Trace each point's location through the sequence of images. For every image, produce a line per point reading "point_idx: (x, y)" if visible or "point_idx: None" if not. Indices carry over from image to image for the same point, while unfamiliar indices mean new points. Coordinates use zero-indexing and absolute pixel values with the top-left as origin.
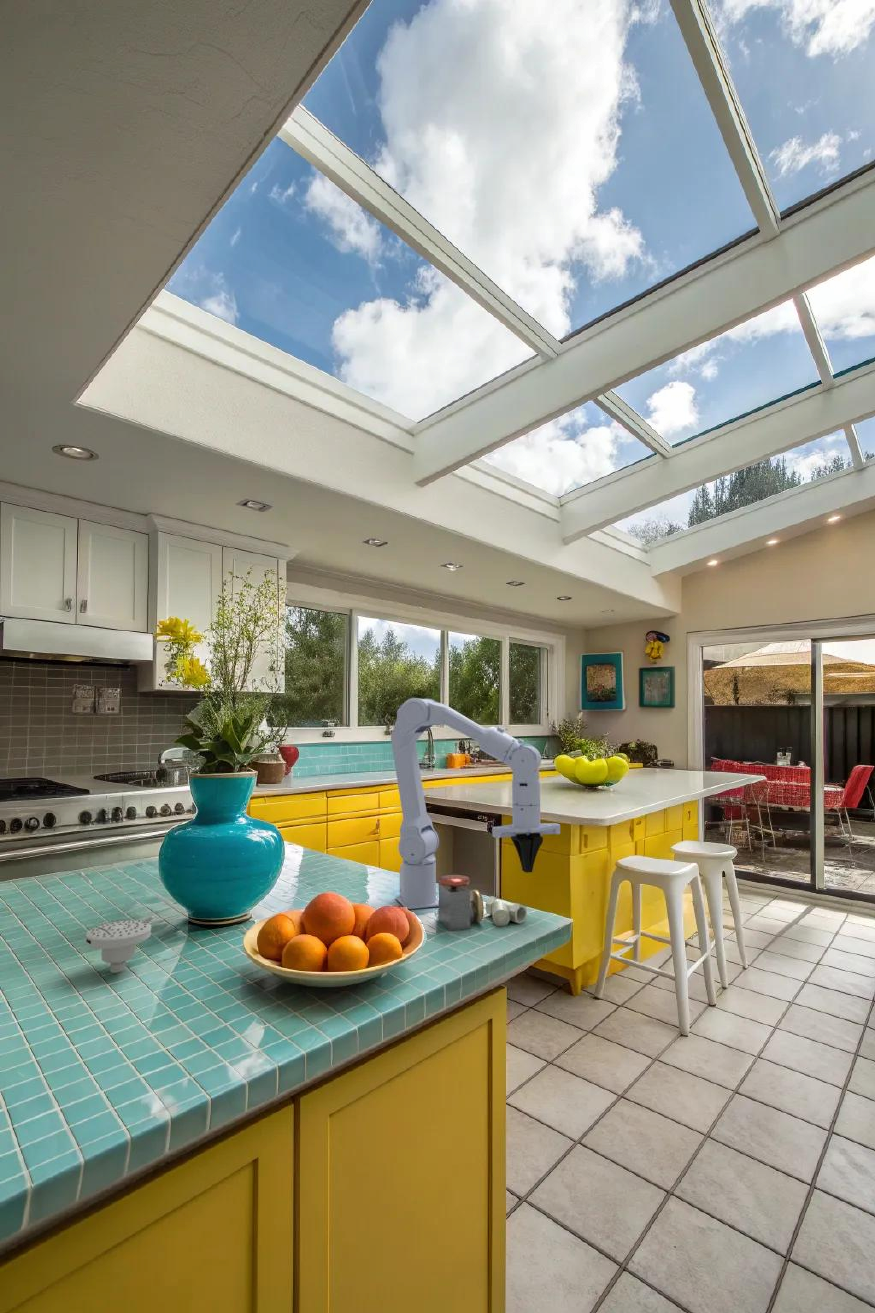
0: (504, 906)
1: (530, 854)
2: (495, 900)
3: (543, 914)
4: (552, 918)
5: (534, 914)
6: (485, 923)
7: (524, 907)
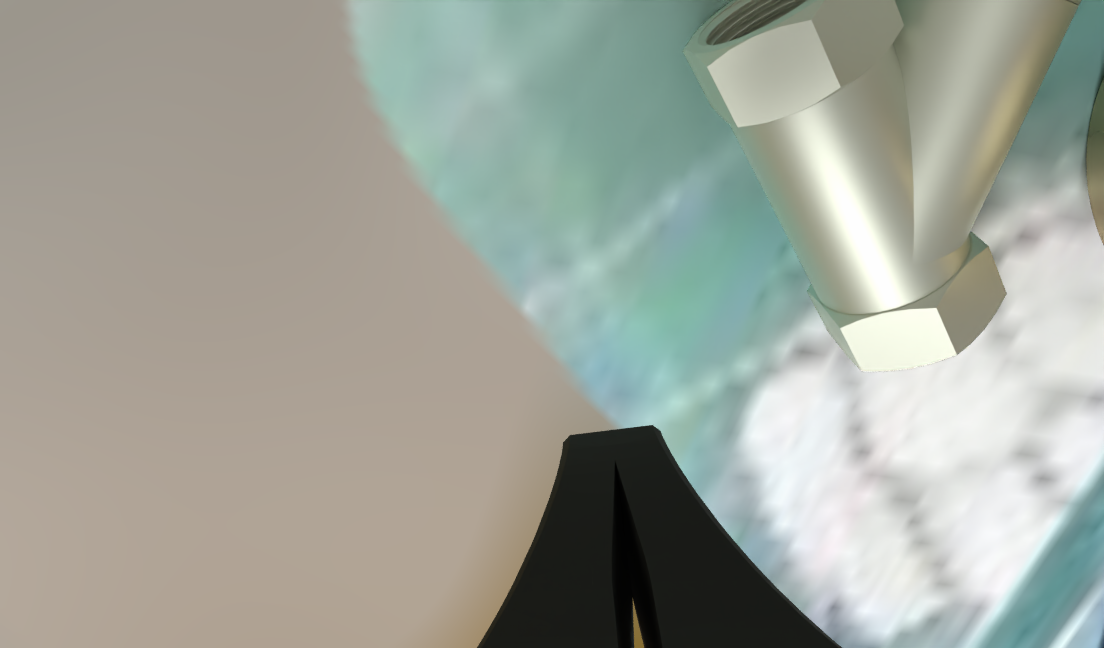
0: (940, 92)
1: (619, 626)
2: (948, 272)
3: (459, 213)
4: (411, 90)
5: (536, 226)
6: (1055, 61)
7: (734, 41)
